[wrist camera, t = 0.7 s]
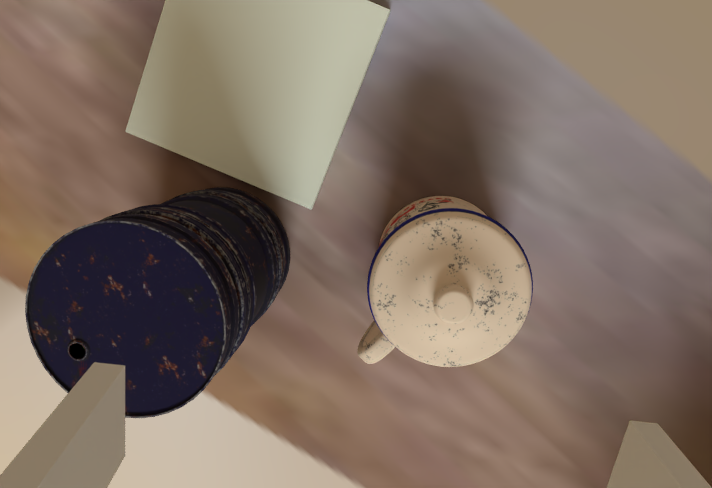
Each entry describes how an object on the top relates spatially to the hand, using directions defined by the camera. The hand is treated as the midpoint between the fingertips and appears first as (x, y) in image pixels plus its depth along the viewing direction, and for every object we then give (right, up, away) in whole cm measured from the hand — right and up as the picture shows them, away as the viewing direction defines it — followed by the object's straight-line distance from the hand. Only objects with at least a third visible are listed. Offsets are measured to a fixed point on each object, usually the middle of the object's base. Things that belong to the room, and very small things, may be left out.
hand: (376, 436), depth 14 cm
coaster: (-7, +17, +23) cm, 29 cm away
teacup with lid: (+4, +3, +25) cm, 26 cm away
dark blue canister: (-10, +4, +26) cm, 28 cm away
